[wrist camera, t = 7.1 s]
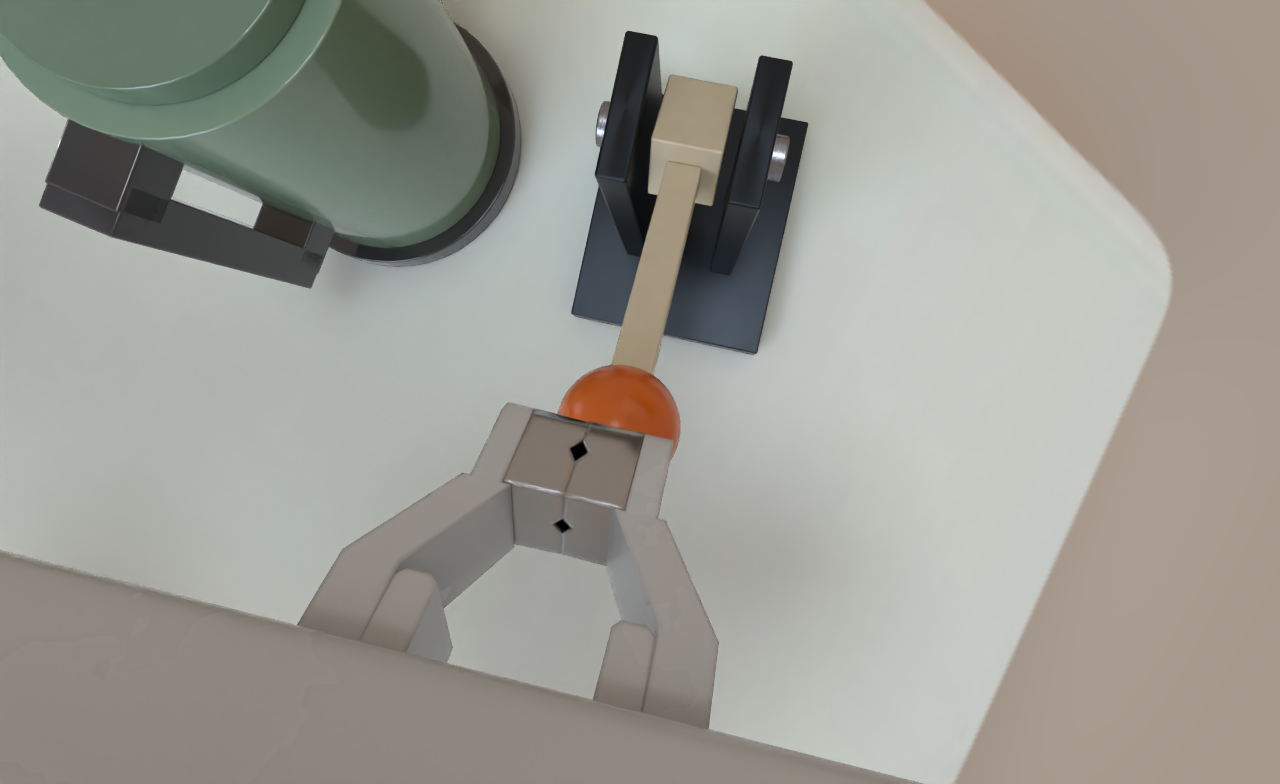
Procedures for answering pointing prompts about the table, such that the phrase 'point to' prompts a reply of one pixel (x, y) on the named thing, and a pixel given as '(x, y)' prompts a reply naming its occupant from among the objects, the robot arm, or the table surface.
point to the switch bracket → (719, 234)
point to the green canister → (271, 125)
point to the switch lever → (660, 260)
